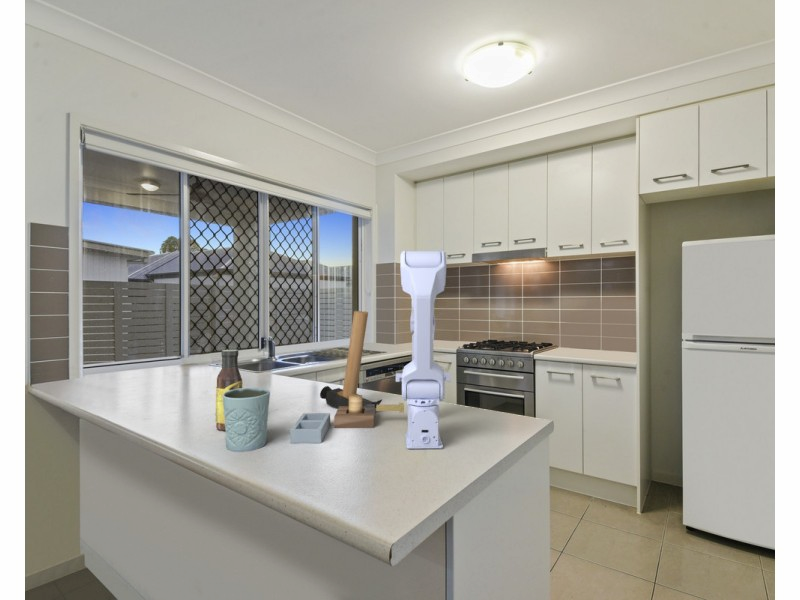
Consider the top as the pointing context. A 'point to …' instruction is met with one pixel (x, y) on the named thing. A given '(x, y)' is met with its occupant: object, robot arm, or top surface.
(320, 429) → the divided storage tray
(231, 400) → the teal embossed cup
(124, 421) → the top surface
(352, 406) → the dowel peg
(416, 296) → the robot arm
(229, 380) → the sauce bottle
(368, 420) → the socket block
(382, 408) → the drift key
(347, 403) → the hammer
